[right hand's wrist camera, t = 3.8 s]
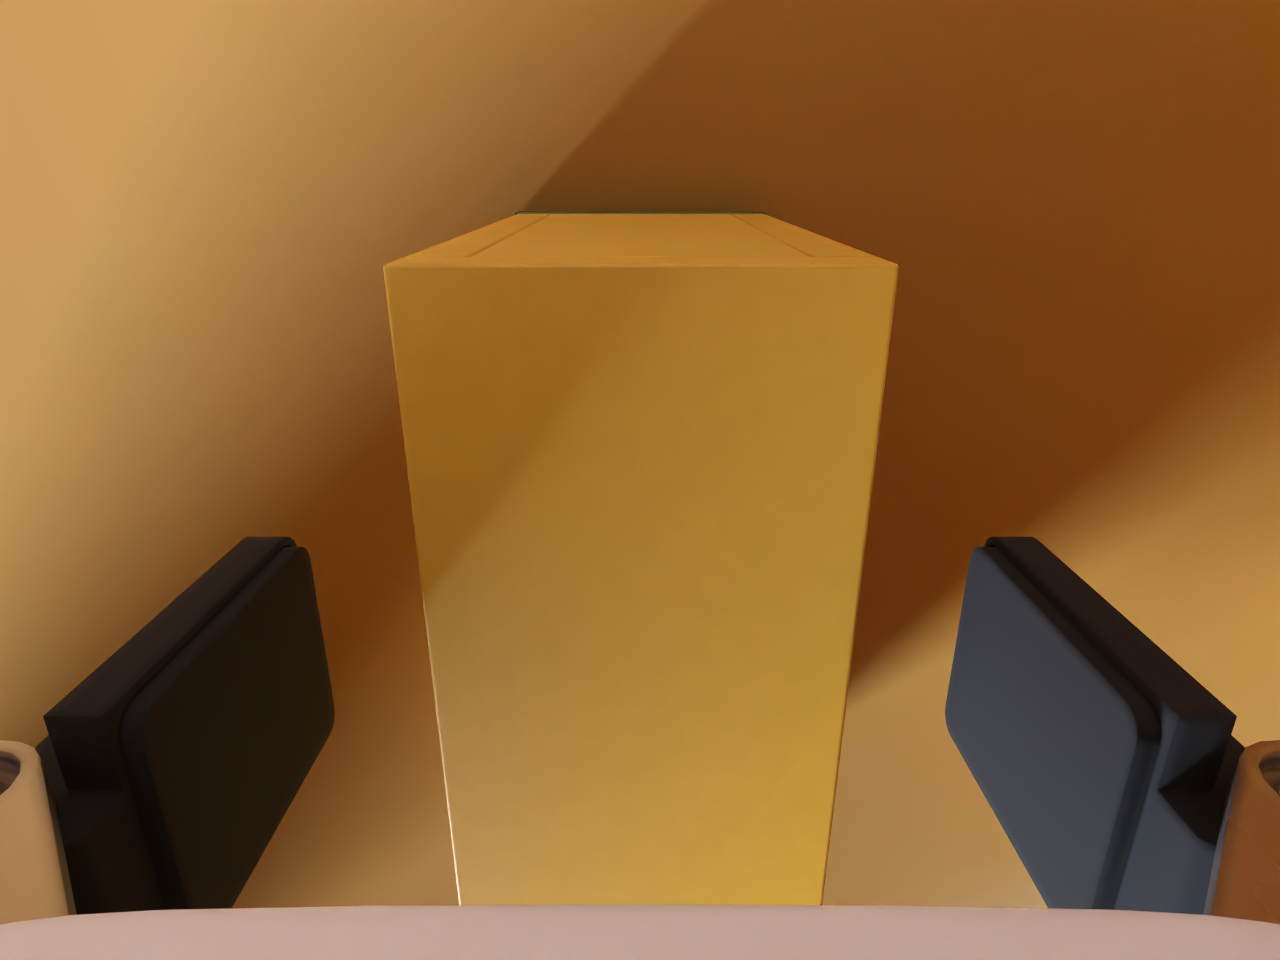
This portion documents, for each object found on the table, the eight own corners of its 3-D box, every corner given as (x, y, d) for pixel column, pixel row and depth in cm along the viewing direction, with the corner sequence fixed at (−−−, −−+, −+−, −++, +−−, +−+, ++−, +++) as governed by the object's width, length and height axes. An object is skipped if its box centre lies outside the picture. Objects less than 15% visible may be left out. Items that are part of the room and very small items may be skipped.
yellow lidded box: (733, 727, 26) (797, 1117, 15) (547, 727, 26) (483, 1116, 15) (762, 211, 20) (901, 263, 9) (519, 211, 20) (379, 262, 9)
